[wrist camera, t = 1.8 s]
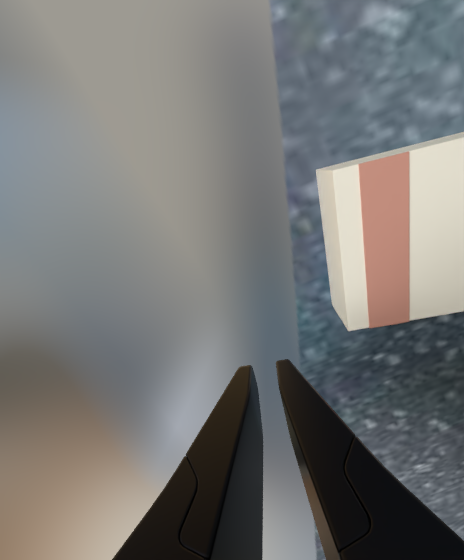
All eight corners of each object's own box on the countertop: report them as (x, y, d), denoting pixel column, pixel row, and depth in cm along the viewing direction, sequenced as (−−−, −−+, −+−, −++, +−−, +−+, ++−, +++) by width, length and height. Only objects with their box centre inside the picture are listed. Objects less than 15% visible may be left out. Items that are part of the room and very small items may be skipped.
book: (499, 271, 20) (558, 295, 16) (330, 302, 21) (349, 331, 18) (519, 117, 16) (602, 102, 12) (314, 169, 18) (332, 170, 14)
